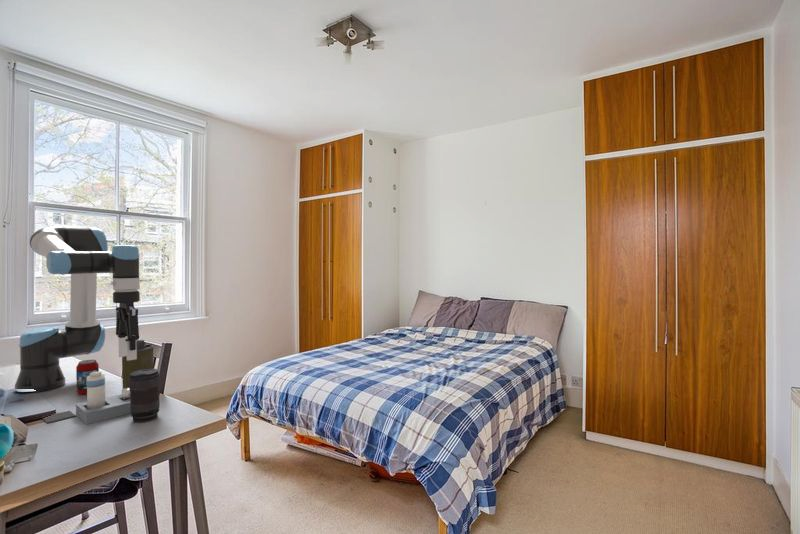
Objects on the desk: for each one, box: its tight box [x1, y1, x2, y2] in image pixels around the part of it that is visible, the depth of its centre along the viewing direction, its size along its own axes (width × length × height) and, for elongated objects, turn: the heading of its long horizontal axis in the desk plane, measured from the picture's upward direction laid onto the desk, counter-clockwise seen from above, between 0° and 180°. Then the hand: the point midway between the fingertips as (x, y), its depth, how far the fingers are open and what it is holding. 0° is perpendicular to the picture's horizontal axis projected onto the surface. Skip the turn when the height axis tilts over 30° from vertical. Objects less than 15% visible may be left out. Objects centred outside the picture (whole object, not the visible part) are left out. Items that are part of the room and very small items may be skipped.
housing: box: [75, 393, 131, 425], centre depth 134 cm, size 12×16×4 cm
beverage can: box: [75, 359, 100, 396], centre depth 155 cm, size 7×7×12 cm
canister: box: [121, 339, 155, 389], centre depth 154 cm, size 11×10×20 cm
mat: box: [42, 410, 77, 424], centre depth 130 cm, size 7×7×1 cm
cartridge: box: [86, 371, 106, 410], centre depth 131 cm, size 5×5×14 cm
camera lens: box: [129, 368, 161, 423], centre depth 129 cm, size 8×8×15 cm
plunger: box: [121, 388, 130, 401], centre depth 138 cm, size 4×4×4 cm
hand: (127, 357), depth 138 cm, fingers open, 7 cm apart
